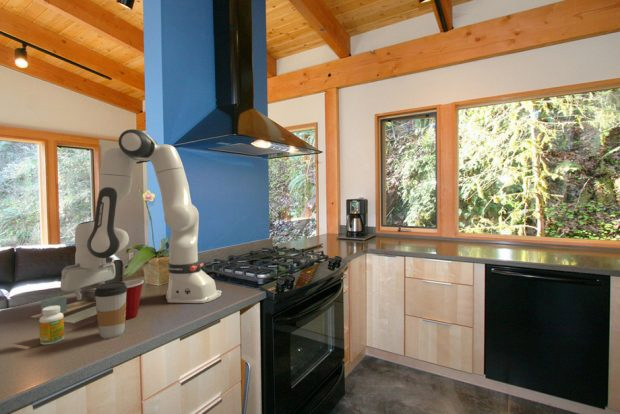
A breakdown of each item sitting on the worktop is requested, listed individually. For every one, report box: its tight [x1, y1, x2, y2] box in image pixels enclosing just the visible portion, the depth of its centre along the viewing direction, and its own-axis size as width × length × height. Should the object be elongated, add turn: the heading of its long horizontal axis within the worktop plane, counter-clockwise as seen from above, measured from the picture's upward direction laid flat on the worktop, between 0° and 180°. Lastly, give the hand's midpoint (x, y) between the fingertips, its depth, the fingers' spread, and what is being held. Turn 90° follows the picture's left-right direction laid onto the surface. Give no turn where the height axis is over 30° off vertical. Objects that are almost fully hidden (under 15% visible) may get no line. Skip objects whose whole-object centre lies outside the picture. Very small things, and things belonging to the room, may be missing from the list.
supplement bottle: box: [38, 306, 65, 346], centre depth 89 cm, size 5×5×10 cm
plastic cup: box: [123, 279, 145, 321], centre depth 106 cm, size 11×11×12 cm
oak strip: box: [30, 288, 96, 319], centre depth 114 cm, size 8×20×5 cm, turn 164°
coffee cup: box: [94, 281, 127, 339], centre depth 93 cm, size 8×8×15 cm
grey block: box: [64, 305, 97, 324], centre depth 111 cm, size 8×20×5 cm, turn 164°
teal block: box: [40, 295, 68, 315], centre depth 109 cm, size 5×5×5 cm
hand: (90, 296), depth 122 cm, fingers open, 7 cm apart
